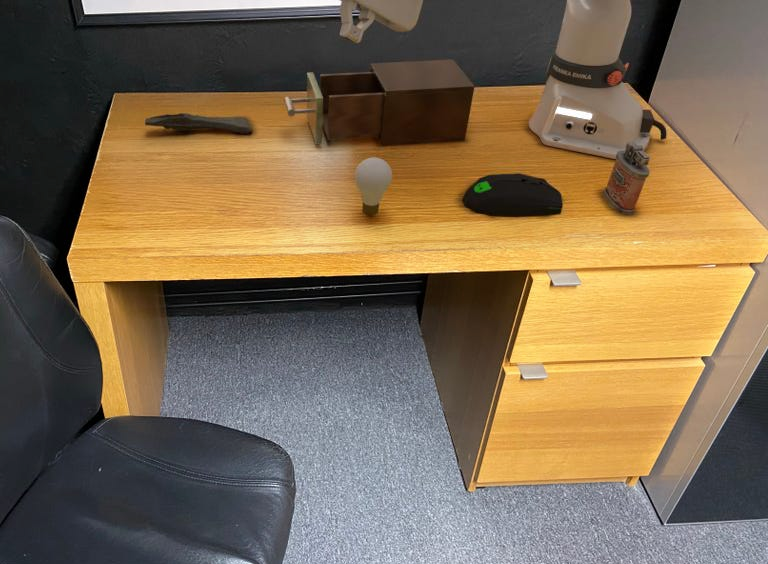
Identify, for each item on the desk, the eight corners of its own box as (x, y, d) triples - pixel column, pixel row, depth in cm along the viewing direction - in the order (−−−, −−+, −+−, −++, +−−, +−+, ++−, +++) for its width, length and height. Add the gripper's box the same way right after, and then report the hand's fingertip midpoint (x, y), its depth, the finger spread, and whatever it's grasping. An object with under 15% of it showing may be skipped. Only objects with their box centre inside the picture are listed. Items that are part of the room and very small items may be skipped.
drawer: (290, 145, 131) (289, 99, 125) (282, 117, 140) (282, 73, 134) (395, 139, 133) (400, 93, 127) (381, 112, 142) (385, 68, 136)
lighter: (598, 191, 120) (617, 136, 113) (617, 190, 120) (637, 135, 113) (618, 215, 114) (639, 159, 107) (638, 214, 114) (660, 158, 107)
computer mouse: (454, 184, 122) (457, 163, 119) (545, 180, 122) (551, 159, 120) (471, 219, 113) (475, 197, 111) (569, 214, 114) (576, 193, 111)
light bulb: (364, 228, 111) (369, 172, 105) (345, 211, 115) (348, 155, 108) (394, 219, 113) (401, 163, 107) (375, 203, 117) (380, 147, 110)
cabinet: (380, 146, 133) (385, 91, 125) (366, 116, 142) (370, 63, 135) (464, 140, 134) (474, 86, 127) (444, 111, 144) (453, 59, 137)
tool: (247, 124, 143) (248, 109, 141) (253, 138, 137) (254, 122, 135) (144, 123, 138) (143, 107, 137) (145, 137, 132) (145, 121, 131)
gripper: (335, -100, 92) (306, 8, 95) (439, -31, 104) (410, 63, 107) (309, -90, 97) (282, 12, 100) (411, -26, 109) (384, 64, 112)
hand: (349, 39), depth 103 cm, fingers closed
